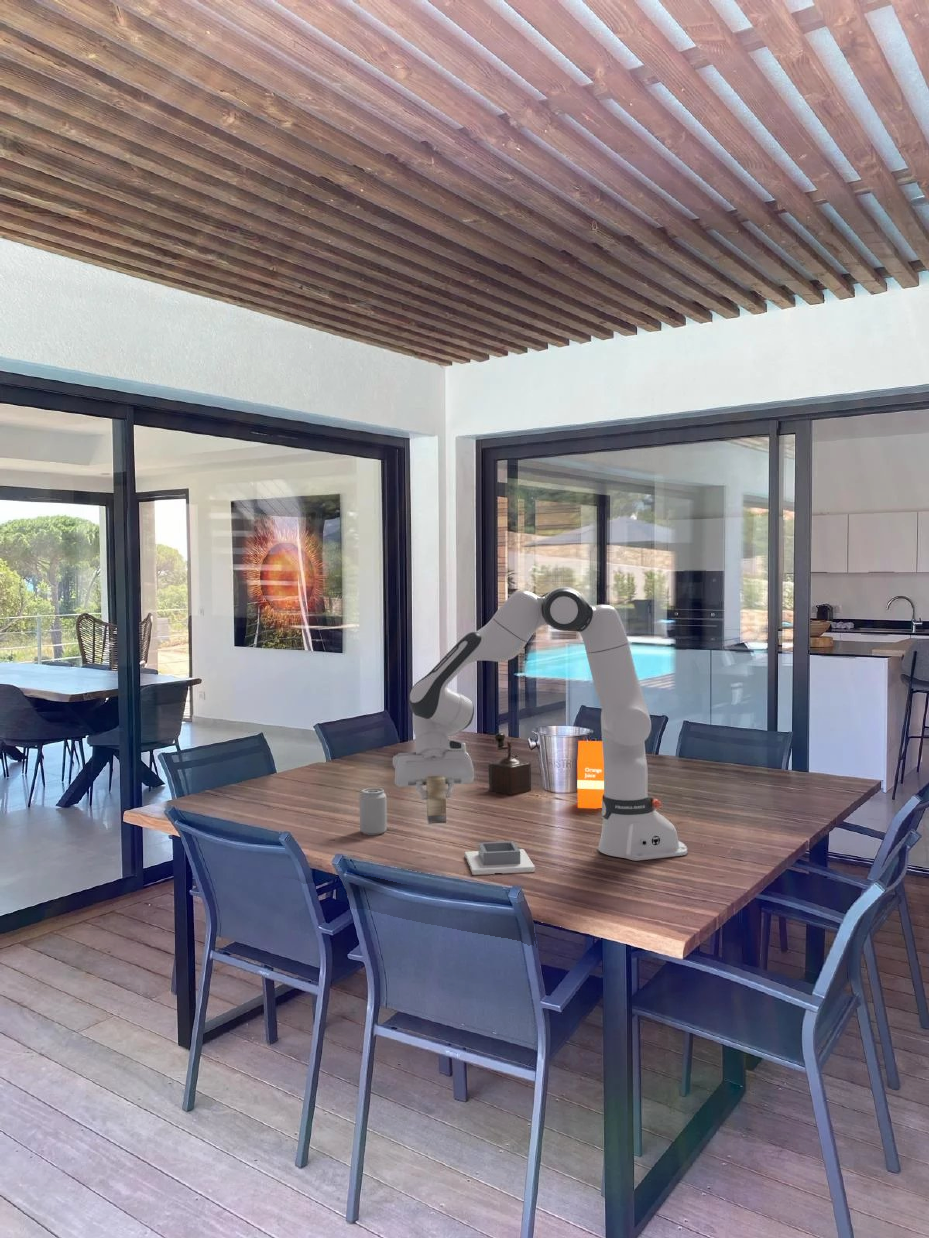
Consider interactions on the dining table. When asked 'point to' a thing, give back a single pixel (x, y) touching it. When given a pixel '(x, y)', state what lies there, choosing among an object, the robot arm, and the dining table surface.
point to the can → (373, 811)
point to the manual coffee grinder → (509, 772)
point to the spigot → (436, 799)
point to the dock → (498, 859)
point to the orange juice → (590, 774)
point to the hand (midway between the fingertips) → (436, 797)
